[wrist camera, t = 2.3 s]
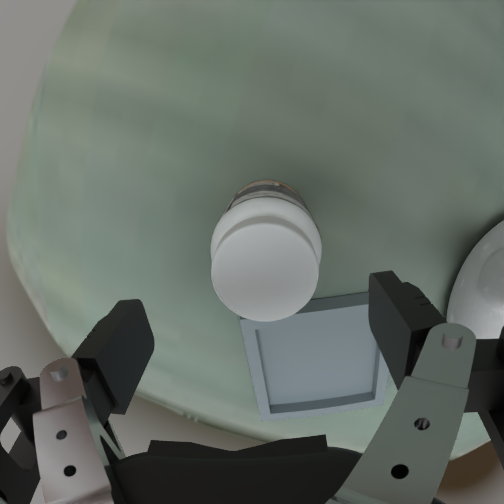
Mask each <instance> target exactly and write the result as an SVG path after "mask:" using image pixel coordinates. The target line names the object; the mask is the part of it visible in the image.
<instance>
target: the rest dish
mask: <svg viewBox="0 0 504 504" xmlns="http://www.w3.org/2000/svg"><path fill="white" fill-rule="evenodd" d="M368 306H369V292H365V293H358V294H351V295H344V296H337V297H330V298H323V299H315V300H309V301H308V303H307V304H306V305H305V306H304V307H303V308H301V309H300V310H299V311H298V312H296V313H295V314H293V315H291V316H289V317H287V318H284V319H281V320H276V321H269V322H262V321H254V320H250V319H246V318H244V317H241V316H240V325H241V329H242V334H243V339H244V344H245V349H246V353H247V358H248V363H249V367H250V372H251V377H252V381H253V386H254V391H255V395H256V400H257V404H258V409H259V413H260V418H261V421H267V420H280V419H291V418H301V417H310V416H318V415H325V414H332V413H339V412H345V411H351V410H357V409H363V408H368V407H373V406H378V405H383V404H384V400H385V393H386V387H387V380H388V373H389V369H388V367H387V364H386V362H385V360H384V358H383V355H382V353H381V351H380V349H379V347H378V345H377V342H376V340H375V338H374V336H373V334H372V332H371V329H370V325H369V318H368Z"/></svg>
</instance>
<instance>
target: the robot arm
mask: <svg viewBox="0 0 504 504" xmlns="http://www.w3.org/2000/svg"><path fill="white" fill-rule="evenodd" d="M368 318H369V325H370V329H371V332H372V334H373V336H374V338H375V340H376V342H377V345H378V347H379V349H380V351H381V353H382V355H383V358H384V360H385V362H386V364H387V367H388V369H389V371H390V373H391V376H392V378H393V380H394V382H395V385H396V387H397V389H398V392H397V394H396V396H395V398H394V400H393V402H392V404H391V406H390V408H389V410H388V412H387V413H386V415H385V417H384V419H383V421H382V423H381V424H380V426H379V428H378V430H377V431H376V433H375V435H374V437H373V438H372V440H371V442H370V443H369V445H368V447H367V448H366V450H365V452H364V453H363V454H362V453H359V452H356V451H353V450H349V449H344V448H338V447H327V441H326V434H325V435H318V436H310V437H302V438H292V439H282V440H277V441H274V442H270V443H266V444H263V445H259V446H255V447H251V448H247V449H242V450H238V451H228V450H223V449H218V448H213V447H208V446H204V445H200V444H196V443H192V442H174V441H158V440H151V442H150V445H149V448H148V451H147V452H143V453H139V454H134V455H131V456H128V457H126V456H125V453H124V451H123V449H122V447H121V444H120V442H119V440H118V437H117V435H116V433H115V430H114V428H113V425H112V423H111V421H110V420H109V415H110V414H111V413H112V414H123V415H125V413H126V410H127V408H128V406H129V404H130V401H131V399H132V397H133V395H134V392H135V390H136V388H137V386H138V384H139V381H140V379H141V377H142V375H143V373H144V370H145V368H146V366H147V364H148V362H149V360H150V357H151V355H152V353H153V351H154V337H153V333H152V330H151V327H150V325H149V322H148V319H147V316H146V313H145V309H144V306H143V304H142V302H141V301H140V300H139V299H132V300H120V301H118V303H117V304H116V305H115V306H114V308H113V309H112V310H111V311H110V313H109V314H108V315H107V316H105V317H104V318H103V319H101V320H100V321H98V323H97V324H96V325H95V326H94V328H93V329H92V331H91V332H90V333H89V334H88V336H87V338H85V339H84V341H83V342H82V343H81V345H80V346H79V347H78V349H77V350H76V351H75V353H74V354H73V355H72V357H71V358H70V357H65V358H60V359H57V360H55V361H52V362H51V363H49V364H48V365H47V366H45V367H44V368H43V370H42V371H41V373H40V377H36V378H29V379H26V377H25V375H24V373H23V372H22V370H21V368H19V367H16V366H12V367H7V368H5V369H3V370H2V371H0V434H1V432H2V430H3V428H4V427H5V425H6V424H7V422H8V420H9V419H10V417H11V418H12V419H13V421H14V422H15V423H16V425H17V426H18V427H19V429H20V430H21V433H20V434H19V436H18V438H17V440H16V441H15V443H14V445H13V447H12V449H11V451H10V452H9V454H8V453H7V452H6V451H5V450H4V448H3V447H2V445H1V442H0V504H30V502H31V500H32V497H33V495H34V492H35V489H36V488H37V485H38V483H39V481H40V479H41V484H42V489H43V493H44V498H45V503H46V504H446V503H444V502H442V501H441V500H439V499H437V498H435V497H434V496H435V493H436V491H437V489H438V486H439V484H440V481H441V479H442V476H443V474H444V471H445V469H446V466H447V463H448V461H449V458H450V455H451V452H452V449H453V446H454V443H455V440H456V437H457V434H458V430H459V427H460V424H461V420H462V417H463V413H466V412H478V414H479V416H480V418H481V420H482V422H483V424H484V426H485V428H486V430H487V432H488V435H489V437H490V439H491V441H492V443H493V446H494V448H495V450H496V452H497V455H498V457H499V459H500V461H501V464H502V466H503V469H504V326H503V327H502V330H501V333H500V336H499V338H496V339H476V336H475V334H474V333H473V332H472V331H471V330H470V329H469V328H467V327H465V326H463V325H461V324H457V323H448V322H447V321H446V320H445V319H444V317H443V316H442V315H441V314H440V313H439V311H438V310H437V309H436V308H435V307H434V305H433V304H431V302H430V301H429V299H428V298H427V297H425V295H424V294H423V292H422V291H421V290H420V289H419V288H418V287H416V286H414V285H412V284H410V283H408V282H404V283H402V282H401V281H400V280H399V278H398V277H397V276H396V275H395V273H394V272H393V271H391V270H390V271H383V272H376V273H371V274H370V276H369V306H368Z"/></svg>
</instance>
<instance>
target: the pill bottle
mask: <svg viewBox="0 0 504 504" xmlns="http://www.w3.org/2000/svg"><path fill="white" fill-rule="evenodd" d="M321 254H322V242H321V236H320V233H319V230H318V228H317V226H316V224H315V222H314V220H313V218H312V216H311V215H310V213H309V211H308V209H307V207H306V205H305V203H304V202H303V200H302V199H301V197H300V196H299V195H298V194H297V193H296V192H295V191H294V190H293V189H292V188H290V187H289V186H287V185H285V184H283V183H280V182H276V181H270V180H264V181H258V182H254V183H251V184H249V185H247V186H245V187H244V188H242V189H241V190H240V191H239V192H238V193H237V194H236V195H235V196H234V197H233V199H232V200H231V202H230V203H229V205H228V206H227V208H226V209H225V212H224V214H223V215H222V217H221V219H220V220H219V222H218V223H217V225H216V227H215V229H214V232H213V235H212V239H211V259H212V265H211V279H212V283H213V286H214V289H215V292H216V293H217V295H218V297H219V298H220V300H221V301H222V302H223V303H224V304H225V305H226V306H227V307H228V308H229V309H230V310H231V311H233V312H234V313H236V314H237V315H239V316H241V317H244V318H246V319H250V320H254V321H262V322H269V321H276V320H281V319H284V318H287V317H289V316H291V315H293V314H295V313H296V312H298V311H299V310H300V309H301V308H303V307H304V306H305V305H306V304H307V303H308V301H309V300H310V299H311V297H312V295H313V294H314V292H315V289H316V287H317V283H318V278H319V264H320V260H321Z"/></svg>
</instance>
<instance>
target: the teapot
mask: <svg viewBox="0 0 504 504" xmlns="http://www.w3.org/2000/svg"><path fill="white" fill-rule="evenodd" d="M447 322H448V323H457V324H461V325H463V326H465V327H467V328H469V329H470V330H471V331H472V332H473V333H474V334H475V336H476V339H496V338H499V336H500V333H501V330H502V327H503V326H504V220H503V221H502V222H500V223H499V224H497V225H496V226H495V227H493V228H492V229H491V230H490V231H489V232H488V233H487V234H485V235H484V236H483V238H482V239H481V240H480V241H479V242H478V243H477V244H476V246H475V247H474V248H473V249H472V251H471V252H470V254H469V255H468V257H467V258H466V260H465V262H464V264H463V265H462V267H461V269H460V271H459V274H458V276H457V278H456V281H455V283H454V286H453V289H452V292H451V296H450V300H449V304H448V310H447Z"/></svg>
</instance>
